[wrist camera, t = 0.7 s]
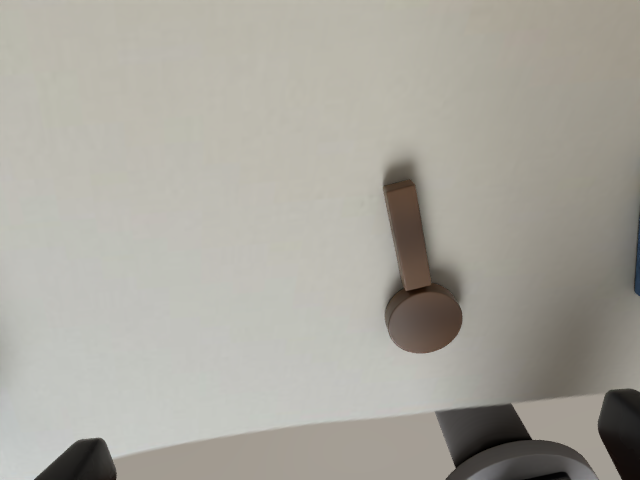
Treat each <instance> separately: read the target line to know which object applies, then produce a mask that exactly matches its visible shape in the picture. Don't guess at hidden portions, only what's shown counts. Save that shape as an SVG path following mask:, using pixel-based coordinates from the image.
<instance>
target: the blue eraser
mask: <svg viewBox="0 0 640 480" xmlns="http://www.w3.org/2000/svg"><path fill="white" fill-rule="evenodd" d="M635 293H636V294H637V295H639V296H640V218H639V233H638V248H637V263H636V278H635Z"/></svg>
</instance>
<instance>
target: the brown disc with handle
mask: <svg viewBox="0 0 640 480" xmlns="http://www.w3.org/2000/svg"><path fill="white" fill-rule="evenodd" d="M383 191H384V196H385V201H386V206H387V211H388V216H389V221H390V226H391V231H392V236H393V241H394V246H395V251H396V256H397V261H398V266H399V271H400V276H401V281H402V284H403V286H404V288H403V289H402V290H400V291H399V292H398V293H397V294H395V295H394V297H393V298H392V299H391V300H390V302H389V304H388V306H387V308H386V312H385V322H386V325H387V329H388V332H389V335H390V337H391V339H392V341H393V342H394V343H395V344H396V345H397V346H398V347H400V348H401V349H403V350H405V351H408V352H412V353H429V352H433V351H436V350H439V349H441V348H443V347H445V346H446V345H448V344H449V343H450V342H451V341H452V340H453V339H454V338H455V337H456V336H457V334H458V332H459V331H460V328H461V325H462V311H461V308H460V306H459V304H458V303H457V301H456V299H455V298H454V296H453V295H452V293H451V292H450V291H449V290H448V289H446V288H445V287H443V286H441V285H438V284H435V283H431V276H430V270H429V264H428V258H427V252H426V246H425V240H424V234H423V228H422V222H421V216H420V210H419V204H418V198H417V192H416V186H415V184H414V183H413V182H412V180H410V179H409V180H405V181H401V182H397V183H394V184H390V185H386V186H383Z"/></svg>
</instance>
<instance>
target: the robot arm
mask: <svg viewBox="0 0 640 480" xmlns="http://www.w3.org/2000/svg"><path fill="white" fill-rule="evenodd" d="M598 431H599V434H600V437H601V439H602V441H603V443H604V445H605V447H606V449H607V451H608V453H609V455H610V457H611V459H612V461H613V463H614V465H615V467H616V469H617V471H618V473H619V475H620V476H621V479H622V480H640V392H638V391H636V390H634V389H617V390H610V391H608V392H607V393H606V395H605V397H604V401H603V405H602V408H601V413H600V416H599V420H598ZM34 480H116V468H115V465H114V463H113V460H112V457H111V455H110V452H109V450H108V447H107V444H106V442H105V441H104V440H103V439H102V438H91V439H81V440H78V441H77V442H75V443H74V444H73V445H71V446H70V447H69V448H68V449H67V450H66V451H65V452H64V453H63V454H62V455H60V456H59V457H58V458H57V459H56V460H55V461H54V462H53V463H52V464H51V465H49V466H48V467H47V468H46V469H45V470H44V471H43V472H42V473H41V474H40V475H39V476H37V477H36V478H35V479H34ZM524 480H571V478H570V477H569V475H568V473H566V472H557V473H552V474H547V475H543V476H538V477H533V478H529V479H524Z"/></svg>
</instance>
